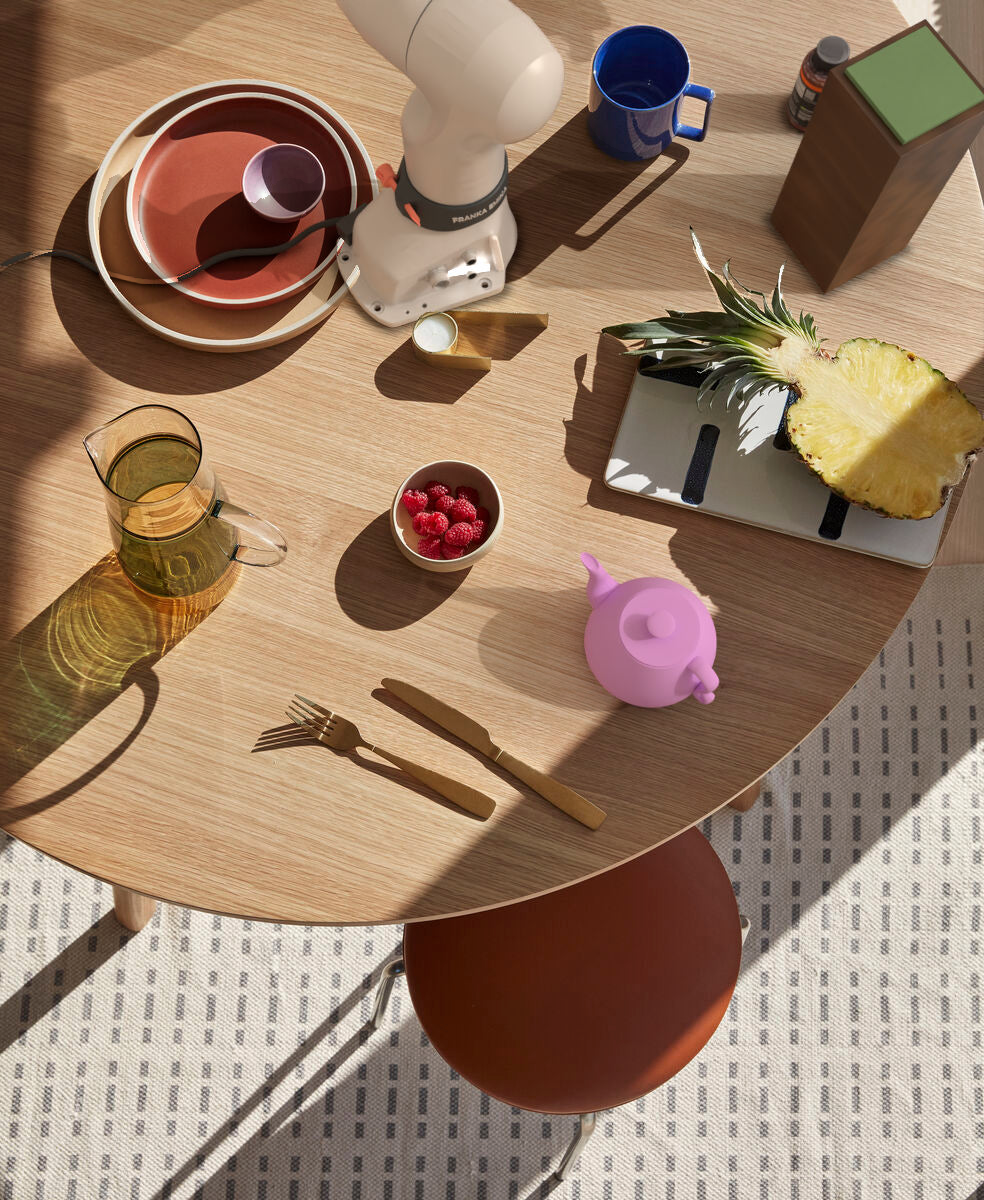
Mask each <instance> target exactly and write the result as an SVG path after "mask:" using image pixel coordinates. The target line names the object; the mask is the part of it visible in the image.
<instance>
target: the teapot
mask: <svg viewBox="0 0 984 1200" xmlns="http://www.w3.org/2000/svg"><path fill="white" fill-rule="evenodd" d="M579 556H580V557H579V558H580V561H581V563H582V564H583V566H584V567H585V569H586V570H587V572H588V580H587V582H586V583H587V584H586V588H585V589H586V590H585V594H586V598H587V599H588V602H589V604H590V605H591V607H592V611H591V613H590V615H589V617H588V619H587V623H586V625H585V630H584V637H583V639H584V640H583V646H584V653H585V658H586V661H587V664H588V666H589V669H590V670H591V673H592V674H593V676H594V678H595V679H596V680H597V682H598V683H599V684H600V686H602V687H603V688H604V689H605V690H606V691H607V692H608V693H609V694H611V695H612V696H613V697H615V698H617V699H618V700H620V701H622V702H624V703H627V704H629V705H631V706H636V707H640V708H648V709H649V708H651V709H655V708H664V707H668V706H673V705H675V704H678V703H680V702H682V701H683V700H685V699H686V698H688V697H689V696H691V695H693V697H694V698H695V699H696V701H698V702H699V703H700V704H702V705H708V704H710V703H712V702H713V701H714V700H715V697H716V695H715V694H714V691H715V690H716V689H717V688H718V687H719V684H720V679H719V676H718V675H717V673H716V672H715V669H713V665H714V662H715V659H716V654H717V631H716V628H715V623H714V620H713V618H712V616H711V614H710V612H709V610H708V608H707V606H706V605H705V604H704V603H703V601H702V600H701V599H700V597H698V596H697V594H695V592H693V591H691V589H689V588H688V587H686V586H685V585H682V584H681V583H679V582H677V581H675V580H671V579H668V578H664V577H659V576H658V577H657V576H644V577H643V576H642V577H638V578H633V579H630V580H627V581H625V582H622V583H619V582H618V581H617V580H616V579H615V578H613V577H612V576H611V574H609V573H608V572H607V571H606V569H605V568H604V567H603V565H602V564H601V562H600V561H599V560H598V559H597V558H596V557H595V556H594V555H592V554H591V553H589V552H586V551H582V552H581V553H580V555H579Z"/></svg>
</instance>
